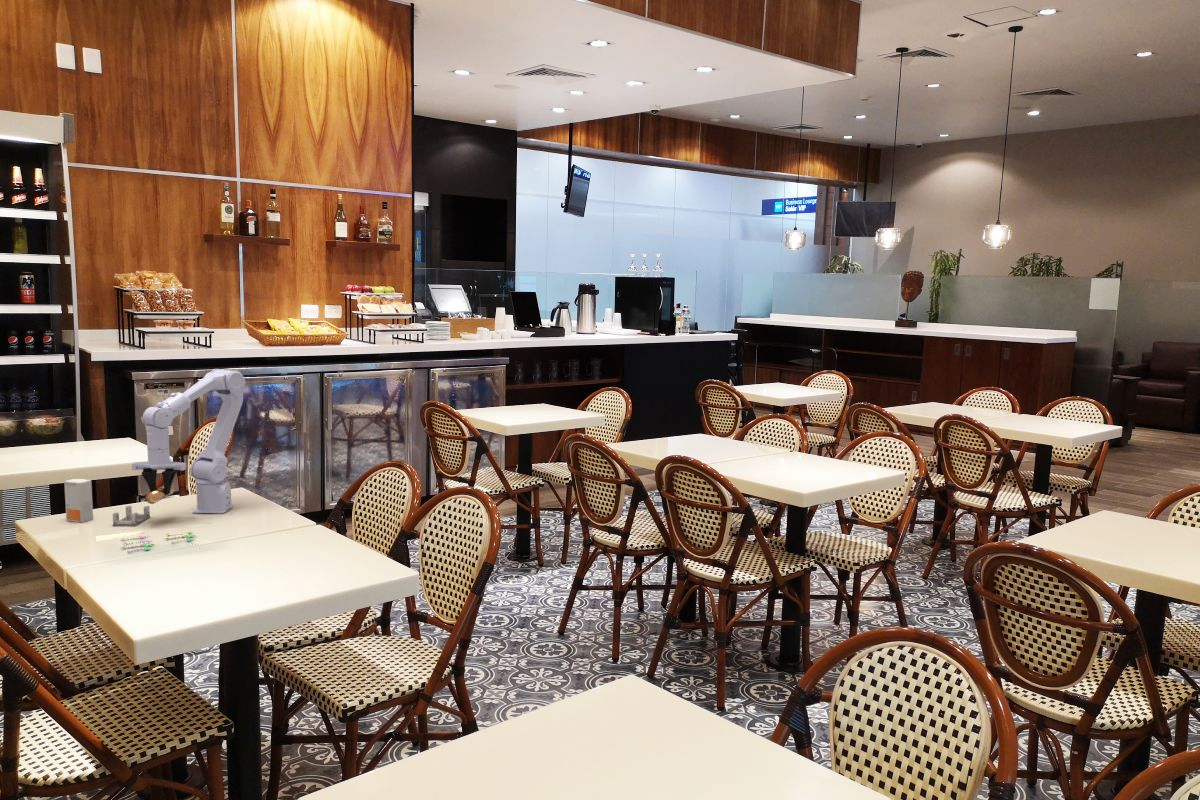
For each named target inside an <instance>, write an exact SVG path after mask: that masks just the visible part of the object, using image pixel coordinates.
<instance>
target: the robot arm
mask: <svg viewBox="0 0 1200 800" xmlns="http://www.w3.org/2000/svg"><path fill="white" fill-rule="evenodd" d="M246 383H247V382H246V379H245V377H244V375H243V374H242V373H241V372H240V371H239V370H230V369H221V368H214V369H212V370H211V371H210V372H207V373H206V374H205V375H204V377H203V378H201V379H200V380H198V381H197V382H196V383H194V384H193V385H192V386H191V387H189V388H188V389H186V390H185V391H184V392H179V391H178V392H172V393H170V394H169V397H167V398H166V399H164V400H163V401H159V402H158V403H156V405H155V406H150V407H148V408H146V409H145V410H144V412H143V415H142V416H141V417H140V420H141V422H142V424H143V425H144V427H145V431H146V448H147V449H146V450H147V461H139V462H138V461H137V462H135V461H134V462H133V463H131V470H132V471H136V470H139V471H140V470H141V471H142V472H141V474H140V475H141V476H142V477H143V479H144V480H145V482H146V484H147V486H148V489H149V491H150V492H149V493H151V492H153V491H154V490H156V489H158V488H157V475H158V471H162V472H161V476H162V480H163V486H164V494H165V495H168V494H169V493H170V489H171V485H173V481H174V479H175V476H176V474H177V472H178V471H185V470H186V469H187V463H186V462H179V461H171V457H170V456H171V455H170V454H171V453H170V438H169V437H170V436H169V434H170V432H169V427H170V426H171V424H172V423H173V420H174V419H175V418H176V417H178V416H179V415H181V414H182V413H184V412H185V411H187V410H188V409H189V408H190V407H191V402H194V401H195V400H196V399H198V398H200V397H202V396H204V395H206V394H207V393H209V392H210V391H215V393H216V394H217V395H219V396H220V399H221V401H222V404H221V406H220V409H219V412H218V415H217V418H216V420H215V423H214V425H213V428H212V431H211V433H210V436H209V439H208V442H207V444H206V448H205V449H204V450H202V451H201V452H200V453H198V455H197V457H196V459H195V460H194V462H193V463H192V464H191V465H190V466H191V467H190V474H191V476H192V478H193V479H194V481H195V483H196V484H195V486H196V508H195V509H194V510H193V511H192V514H225V513H226V512H227V511H229V510H230V509H232V508H233V505H232V487H231V484H230V482H225V481H224V479H225V478H226V477H227V465H228V463H229V461H228V459H227V457H226V455H225V453H226V450H227V447H228V445H229V442H230V439H231V437H232V434H233V430H234V427H235V424H236V422H237V420H238V418H239V414H240V411H241V409H242V406H243V401H244V389H245V386H246ZM168 496H169V495H168Z"/></svg>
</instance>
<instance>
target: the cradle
mask: <svg viewBox="0 0 1200 800" xmlns="http://www.w3.org/2000/svg"><path fill="white" fill-rule="evenodd" d="M132 508H133V507H132V505H127V506H125V517H123V518H121V519H120V513H119V512H113V513H112V527H137V526H138V525H140V524H141V523H143V522H145V521H147V520H148V519H150V518H151V515H150V514H151V512H150V511H151V510H150V505H145V506H144V507H143V513H138V512H133V510H132ZM146 519H147V520H146Z"/></svg>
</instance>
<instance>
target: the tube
mask: <svg viewBox="0 0 1200 800" xmlns="http://www.w3.org/2000/svg"><path fill="white" fill-rule="evenodd" d="M174 493H175V485H174V484H172V485H171V489H170V493H169V494H168V495H165V494H164V485H162V486H160V487H158V488H157V489H156V490H154V491H153V492H149V493H147V494H146V496H145V501H146V502H147V504H149V505H153V504H156V503H158V502H159V501H161V500H163V499H165V498H166V497H169V496H170V495H172V494H174Z"/></svg>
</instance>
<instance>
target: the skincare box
mask: <svg viewBox="0 0 1200 800" xmlns="http://www.w3.org/2000/svg"><path fill="white" fill-rule="evenodd" d="M63 482H64V499H65V500H64V501H65V517H66V518H65V521H68V522H69V521H70V522H75V523H81V524H82V523H85V522H86V523H87V522H90V521H93V520H94V507H93V505H94V503H93V485H92V479H85V478H72V479H68V480H65V481H63ZM89 520H90V521H89Z"/></svg>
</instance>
